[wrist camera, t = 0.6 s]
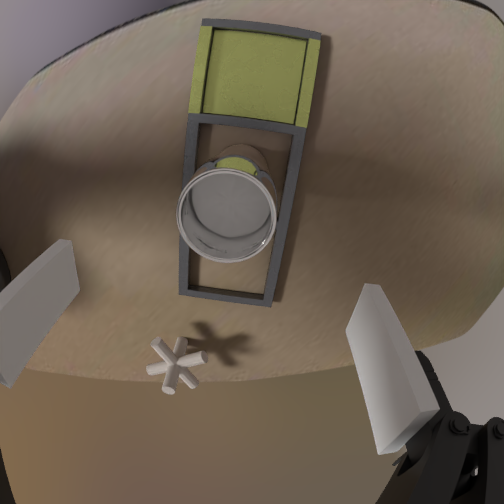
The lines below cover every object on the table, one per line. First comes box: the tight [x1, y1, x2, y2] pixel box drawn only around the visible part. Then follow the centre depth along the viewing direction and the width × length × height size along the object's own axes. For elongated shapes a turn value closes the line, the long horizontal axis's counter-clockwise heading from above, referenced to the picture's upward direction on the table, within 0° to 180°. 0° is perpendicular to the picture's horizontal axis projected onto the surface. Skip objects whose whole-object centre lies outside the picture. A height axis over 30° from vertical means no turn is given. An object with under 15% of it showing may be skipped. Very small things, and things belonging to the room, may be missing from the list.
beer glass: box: [176, 144, 277, 263], centre depth 26 cm, size 7×7×15 cm
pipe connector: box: [147, 337, 208, 394], centre depth 40 cm, size 10×10×10 cm
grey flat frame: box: [179, 19, 321, 307], centre depth 32 cm, size 12×34×1 cm, turn 172°
